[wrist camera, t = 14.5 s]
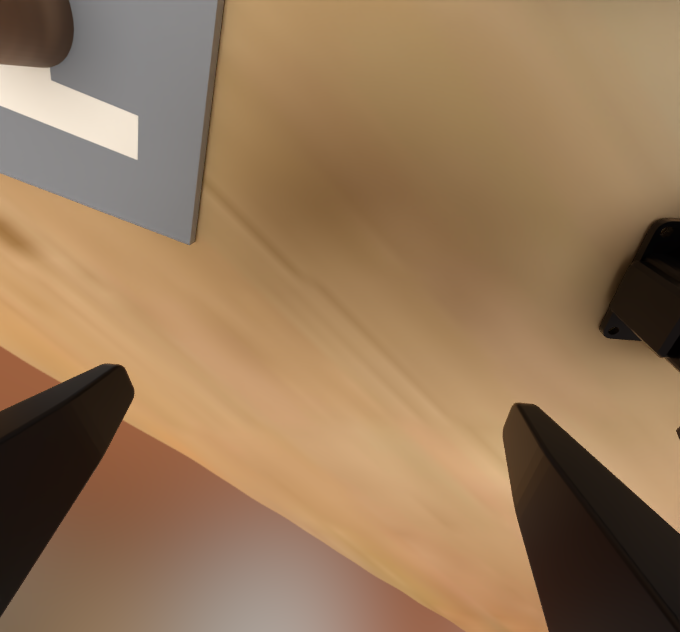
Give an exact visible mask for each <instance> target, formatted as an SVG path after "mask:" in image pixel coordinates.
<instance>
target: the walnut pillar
mask: <svg viewBox="0 0 680 632" xmlns="http://www.w3.org/2000/svg"><path fill="white" fill-rule="evenodd" d="M73 33H74V26H73V16H72V11H71V7H70V3H69V0H0V64H2V65H14V66H26V67H38V68H49V67H53V66H56V65H58V64H59V63H61V62H62V61H63V60H64V59H65V58H66V57H67V55H68V53H69V51H70V49H71V46H72V42H73Z"/></svg>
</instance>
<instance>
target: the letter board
mask: <svg viewBox="0 0 680 632" xmlns="http://www.w3.org/2000/svg"><path fill="white" fill-rule="evenodd" d="M69 3H70V7H71V11H72V16H73V26H74V33H73V42H72V46H71V49H70V51H69V53H68V55H67V57H66V58H65V59H64V60H63V61H62V62H61V63H59V64H58V65H56V66H53V67H49V68H38V67H26V66H14V65H2V64H0V173H1V174H4V175H7V176H9V177H12V178H14V179H17V180H20V181H22V182H25V183H28V184H30V185H33V186H35V187H38V188H41V189H43V190H46V191H49V192H51V193H54V194H56V195H59V196H62V197H64V198H67V199H70V200H72V201H75V202H77V203H80V204H83V205H85V206H88V207H91V208H93V209H96V210H98V211H101V212H104V213H106V214H109V215H112V216H114V217H117V218H119V219H122V220H125V221H127V222H130V223H133V224H135V225H138V226H140V227H143V228H146V229H148V230H151V231H154V232H156V233H159V234H161V235H164V236H167V237H169V238H172V239H175V240H177V241H180V242H182V243H185V244H188V245H191V244H192V243H193V242H195V236H196V228H197V220H198V211H199V203H200V195H201V187H202V179H203V171H204V163H205V154H206V146H207V138H208V130H209V122H210V114H211V106H212V97H213V89H214V81H215V73H216V65H217V57H218V48H219V40H220V32H221V24H222V16H223V8H224V0H69Z"/></svg>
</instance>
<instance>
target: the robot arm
mask: <svg viewBox="0 0 680 632" xmlns="http://www.w3.org/2000/svg"><path fill="white" fill-rule="evenodd" d="M666 227H668V229H667V230H666V232H664V233H663V234H660V233H661V231H662V230H663V229H664V228H666ZM609 307H610V308H609V310H608V311H607V313H606V315H605V317H604V319H603V321H602V323H601V325H600V332H601V333H602V334H603V335H604V336H605V337H606V338H611V339H624V340H637V341H643V342H644V343H645V344H646V345H647V346H648V347H649V348H650V349H651V350H652V351H653V352H654V353H655V354H656V355H657V356H659V357H661V358H665V359H666V360H667V361H668V362H669V363H670V364H671V365H673V366H674V367H675V368H676V369H677V370H678V371H679V372H680V219H668V218H666V219H661V220H659V221H657V222H655V223H654V224H653V225H652V226H651V227H650V229H649V231H648V233H647V235H646V237H645V239H644V241H643V243H642V244H641V246H640V248H639V250H638V252H637V254H636V256H635V258H634V260H633V262H632V264H631V265H630V266H629V268H628V270H627V272H626V274H625V276H624V278H623V280H622V282H621V284H620V286H619V288H618V290H617V292H616V294H615V296H614V298H613V300H612V302H611V304H610V306H609ZM613 327H615V328H614V329H612V330H610V329H611V328H613ZM133 398H134V388H133V385H132V383H131V381H130V378H129V376H128V374H127V371H126V369H125V368H124V367H123V366H122V365H118V364H102V365H99V366H97V367H95V368H93V369H91V370H89V371H86V372H84V373H82V374H80V375H78V376H76V377H73V378H71V379H69V380H67V381H65V382H63V383H60V384H58V385H56V386H54V387H52V388H50V389H48V390H46V391H43V392H41V393H39V394H37V395H35V396H33V397H30V398H28V399H26V400H24V401H22V402H19V403H17V404H15V405H13V406H11V407H9V408H7V409H4V410H2V411H0V617H1V616H2V614H3V613H4V611H5V610H6V608H7V606H8V605H9V603H10V602H11V600H12V599H13V597H14V596H15V594H16V592H17V591H18V589H19V588H20V586H21V585H22V583H23V582H24V580H25V578H26V577H27V575H28V574H29V572H30V571H31V569H32V567H33V566H34V564H35V563H36V561H37V560H38V558H39V557H40V555H41V553H42V552H43V550H44V549H45V547H46V545H47V544H48V542H49V541H50V539H51V538H52V536H53V535H54V533H55V531H56V530H57V528H58V527H59V525H60V523H61V522H62V521H63V519H64V517H65V516H66V514H67V513H68V511H69V510H70V508H71V507H72V505H73V503H74V502H75V500H76V499H77V497H78V495H79V494H80V492H81V491H82V489H83V488H84V486H85V485H86V483H87V482H88V480H89V478H90V477H91V475H92V474H93V472H94V471H95V469H96V467H97V466H98V464H99V463H100V461H101V459H102V458H103V456H104V454H105V452H106V450H107V448H108V447H109V445H110V443H111V441H112V439H113V437H114V435H115V433H116V431H117V429H118V427H119V425H120V423H121V422H122V420H123V418H124V416H125V414H126V412H127V410H128V408H129V406H130V404H131V402H132V400H133ZM676 432H677V434H678V437H679V439H680V427H679V428H678V429H677V430H676ZM503 442H504V448H505V454H506V460H507V466H508V472H509V478H510V484H511V490H512V496H513V502H514V507H515V511H516V515H517V519H518V523H519V527H520V530H521V534H522V537H523V541H524V545H525V548H526V552H527V555H528V559H529V562H530V566H531V570H532V573H533V577H534V580H535V584H536V587H537V591H538V595H539V598H540V602H541V605H542V609H543V612H544V616H545V620H546V623H547V627H548V630H549V632H680V534H679V533H678V532H677V531H676V530H675V529H673V528H672V527H671V526H670V525H669V524H668V523H667V522H666V521H665V520H663V519H662V518H661V517H660V516H659V515H658V514H657V513H656V512H655V511H653V510H652V509H651V508H650V507H649V506H648V505H647V504H646V503H645V502H643V501H642V500H641V499H640V498H639V497H638V496H637V495H636V494H635V493H633V492H632V491H631V490H630V489H629V488H628V487H627V486H626V485H625V484H623V483H622V482H621V481H620V480H619V479H618V478H617V477H616V476H615V475H613V474H612V473H611V472H610V471H609V470H608V469H607V468H606V467H605V466H603V465H602V464H601V463H600V462H599V461H598V460H597V459H596V458H595V457H593V456H592V455H591V454H590V453H589V452H588V451H587V450H586V449H585V448H583V447H582V446H581V445H580V444H579V443H578V442H577V441H576V440H575V439H573V438H572V437H571V436H570V435H569V434H568V433H567V432H566V431H565V430H563V429H562V428H561V427H560V426H559V425H558V424H557V423H556V422H555V421H553V420H552V419H551V418H550V417H549V416H548V415H547V414H546V413H545V412H543V411H542V410H541V409H540V408H539V407H538V406H536V405H534V404H527V403H515V404H513V406H512V407H511V410H510V412H509V415H508V417H507V420H506V422H505V425H504V428H503Z"/></svg>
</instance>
